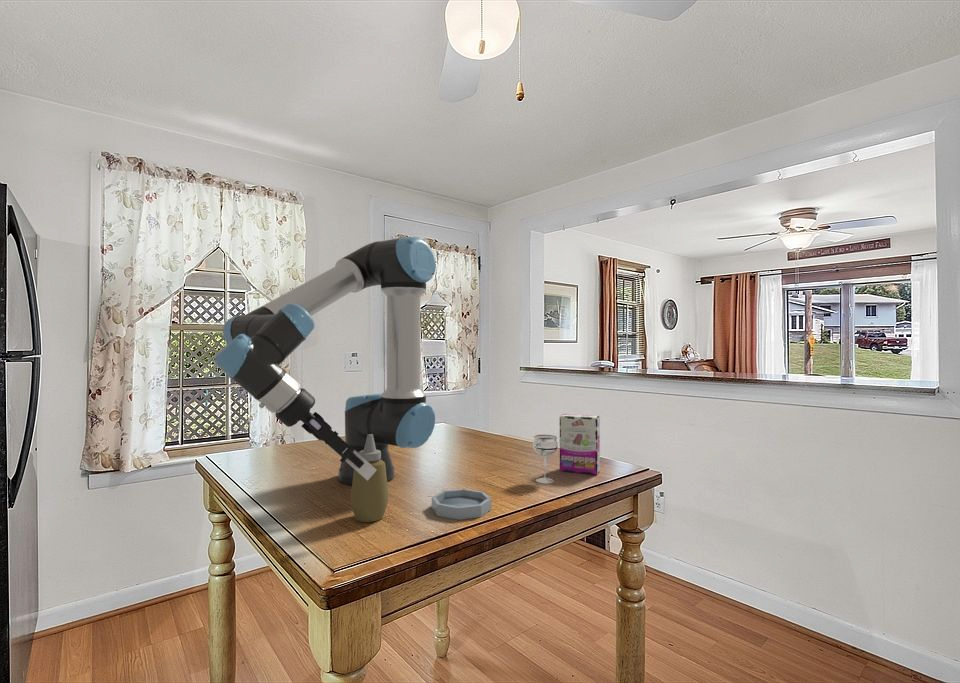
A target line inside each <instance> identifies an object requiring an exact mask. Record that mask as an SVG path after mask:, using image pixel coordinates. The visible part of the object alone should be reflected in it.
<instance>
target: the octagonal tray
mask: <svg viewBox="0 0 960 683" xmlns="http://www.w3.org/2000/svg"><path fill="white" fill-rule="evenodd" d="M431 509H432V511H433V512H434V513H435V514H436V515H435V516H437V517H443V518H447V519H451V520H453V519H454V520H458V521H459V520H467V519H468V518H469V519H477V518H482V517H483V516H485V515H486V514H487V513H489V512H490V511H491V510H492V498H491V497H490V496H489V495H488V494H487V493H485V492H484V491H481V490H475V489H474V490H473V489H469V488H457V489H449V490H447V489H446V490H442V491H441V492H439V493H437V494H435V495H433V496H431ZM488 511H489V512H488Z"/></svg>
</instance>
